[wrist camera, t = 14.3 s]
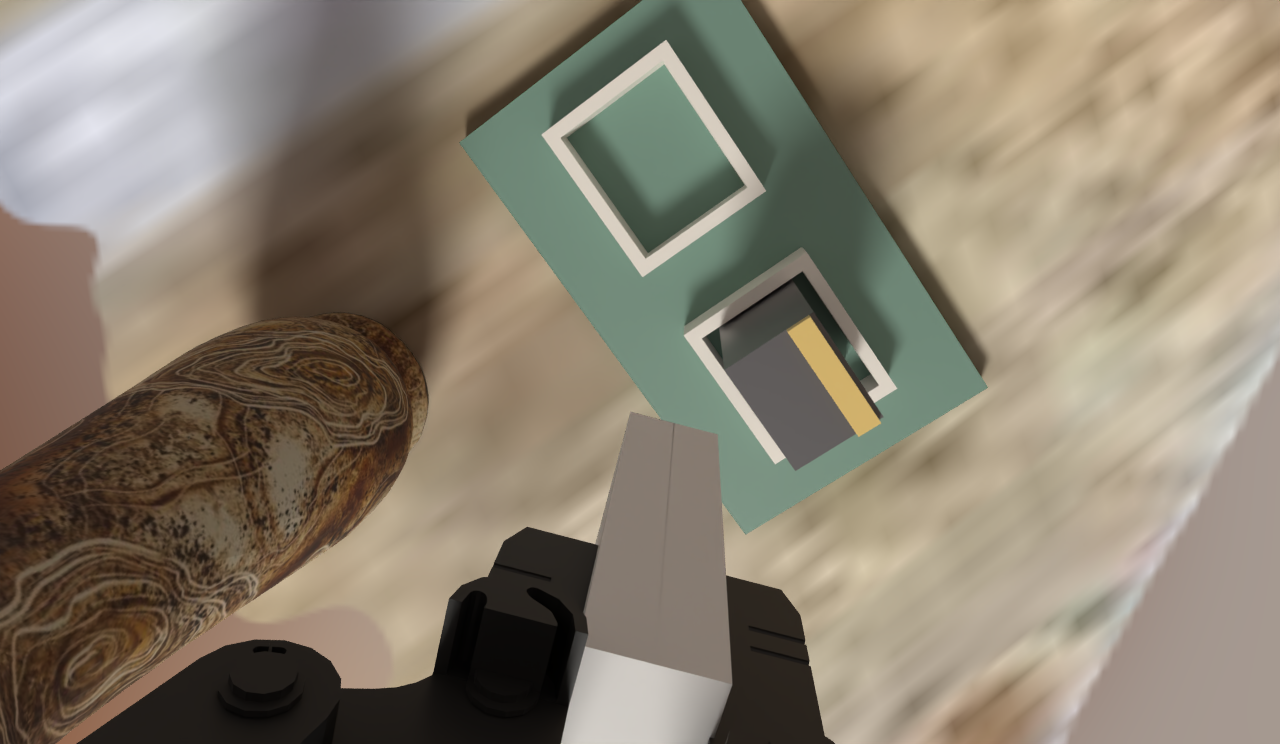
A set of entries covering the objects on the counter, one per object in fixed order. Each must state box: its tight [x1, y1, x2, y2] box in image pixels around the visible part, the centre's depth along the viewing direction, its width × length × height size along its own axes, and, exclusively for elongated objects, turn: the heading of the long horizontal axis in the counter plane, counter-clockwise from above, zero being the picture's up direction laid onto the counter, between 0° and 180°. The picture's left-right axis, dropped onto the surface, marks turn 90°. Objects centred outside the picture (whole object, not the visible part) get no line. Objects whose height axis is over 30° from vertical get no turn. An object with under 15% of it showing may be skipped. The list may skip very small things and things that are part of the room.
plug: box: [719, 279, 883, 471], centre depth 37 cm, size 5×4×9 cm
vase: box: [0, 313, 428, 744], centre depth 31 cm, size 10×11×30 cm
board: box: [459, 0, 988, 534], centre depth 41 cm, size 24×14×3 cm, turn 35°
